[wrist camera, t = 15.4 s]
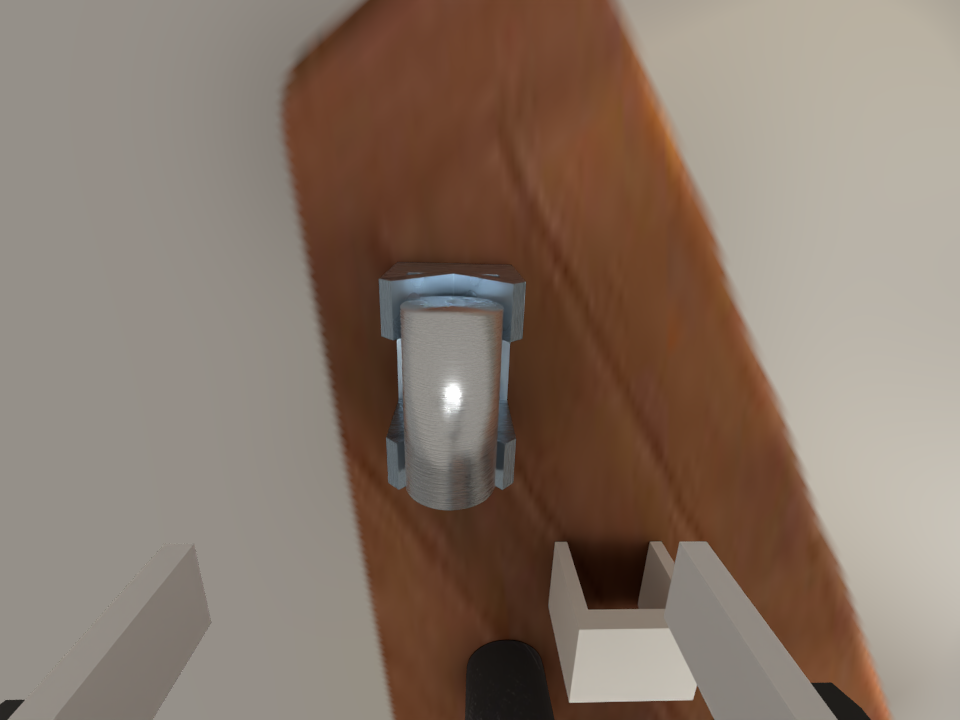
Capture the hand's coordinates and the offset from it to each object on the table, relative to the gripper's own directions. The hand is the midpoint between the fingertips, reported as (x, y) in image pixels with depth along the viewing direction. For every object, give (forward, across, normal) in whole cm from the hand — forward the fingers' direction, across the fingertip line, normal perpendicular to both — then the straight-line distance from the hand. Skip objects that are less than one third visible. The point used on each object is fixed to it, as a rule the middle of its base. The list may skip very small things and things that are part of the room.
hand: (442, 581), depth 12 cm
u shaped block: (+20, -13, +20) cm, 31 cm away
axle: (+14, -1, 0) cm, 14 cm away
